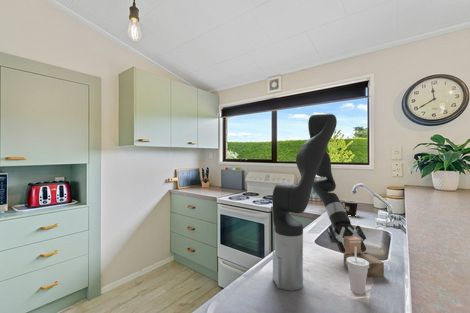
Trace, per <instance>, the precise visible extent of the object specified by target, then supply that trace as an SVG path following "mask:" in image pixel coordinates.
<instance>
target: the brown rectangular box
mask: <svg viewBox="0 0 470 313" xmlns="http://www.w3.org/2000/svg"><path fill="white" fill-rule="evenodd" d="M348 257H355V254H354V253H353V254H344V253H343V268H345V269H346V270H347V271H348V264H347V262H346V261H347V260H346V259H347V258H348ZM357 257H359V258H362V259H365V260H366V261H368V262H369V268H368V272H367V278H374V277H375V278H376V277H384V276H385V274H384V273H385V262H383V261H382V260H380V259H379V258H376V257H375V256H374V255H372V254H370V253H368V252H361V253H358V254H357Z"/></svg>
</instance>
